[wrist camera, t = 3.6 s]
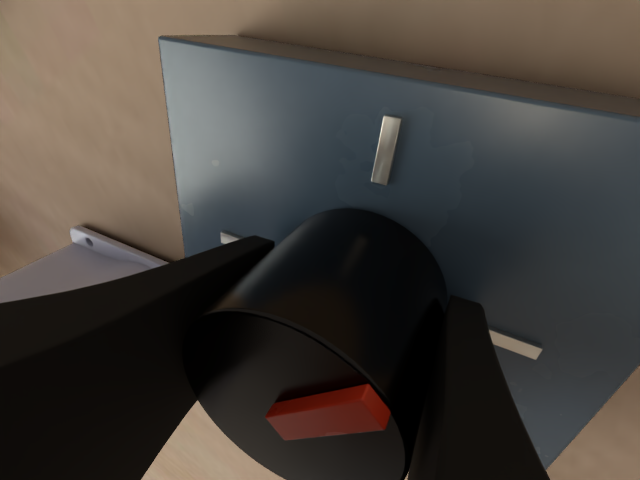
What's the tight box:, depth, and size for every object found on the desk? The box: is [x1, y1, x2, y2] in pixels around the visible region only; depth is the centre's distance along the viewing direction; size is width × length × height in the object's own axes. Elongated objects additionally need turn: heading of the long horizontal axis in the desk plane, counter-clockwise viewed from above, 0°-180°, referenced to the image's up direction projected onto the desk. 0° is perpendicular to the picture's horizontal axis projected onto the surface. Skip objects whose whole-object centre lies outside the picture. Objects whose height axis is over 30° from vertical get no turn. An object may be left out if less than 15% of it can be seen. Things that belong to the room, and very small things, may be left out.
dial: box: [182, 208, 448, 480], centre depth 8 cm, size 4×4×4 cm
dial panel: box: [158, 35, 640, 470], centre depth 10 cm, size 12×10×3 cm
